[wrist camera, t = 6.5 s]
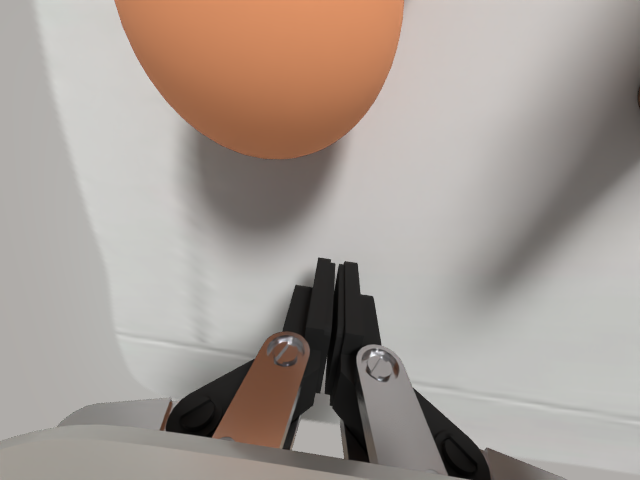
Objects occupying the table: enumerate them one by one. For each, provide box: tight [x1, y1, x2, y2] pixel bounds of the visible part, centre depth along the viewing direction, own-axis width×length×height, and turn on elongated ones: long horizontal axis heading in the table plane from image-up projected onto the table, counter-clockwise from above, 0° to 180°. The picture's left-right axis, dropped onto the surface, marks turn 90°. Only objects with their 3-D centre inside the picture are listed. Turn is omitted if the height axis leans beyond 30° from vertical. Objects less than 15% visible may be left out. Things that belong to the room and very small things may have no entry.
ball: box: [115, 0, 404, 159], centre depth 6 cm, size 6×6×6 cm
